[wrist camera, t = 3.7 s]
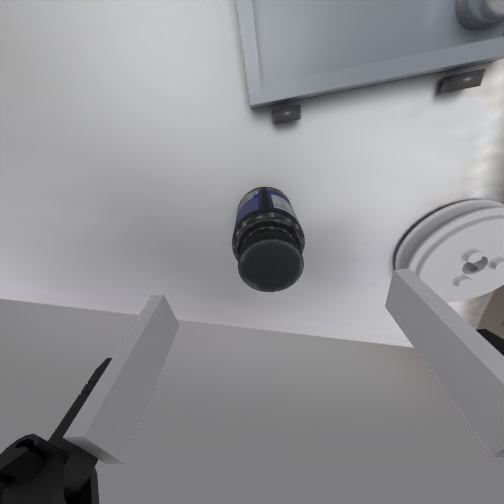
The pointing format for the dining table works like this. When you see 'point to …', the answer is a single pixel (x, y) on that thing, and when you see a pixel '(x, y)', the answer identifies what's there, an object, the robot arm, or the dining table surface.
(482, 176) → the dining table surface
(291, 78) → the cart
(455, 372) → the robot arm
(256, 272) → the pill bottle
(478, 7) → the metal part
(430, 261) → the lid
